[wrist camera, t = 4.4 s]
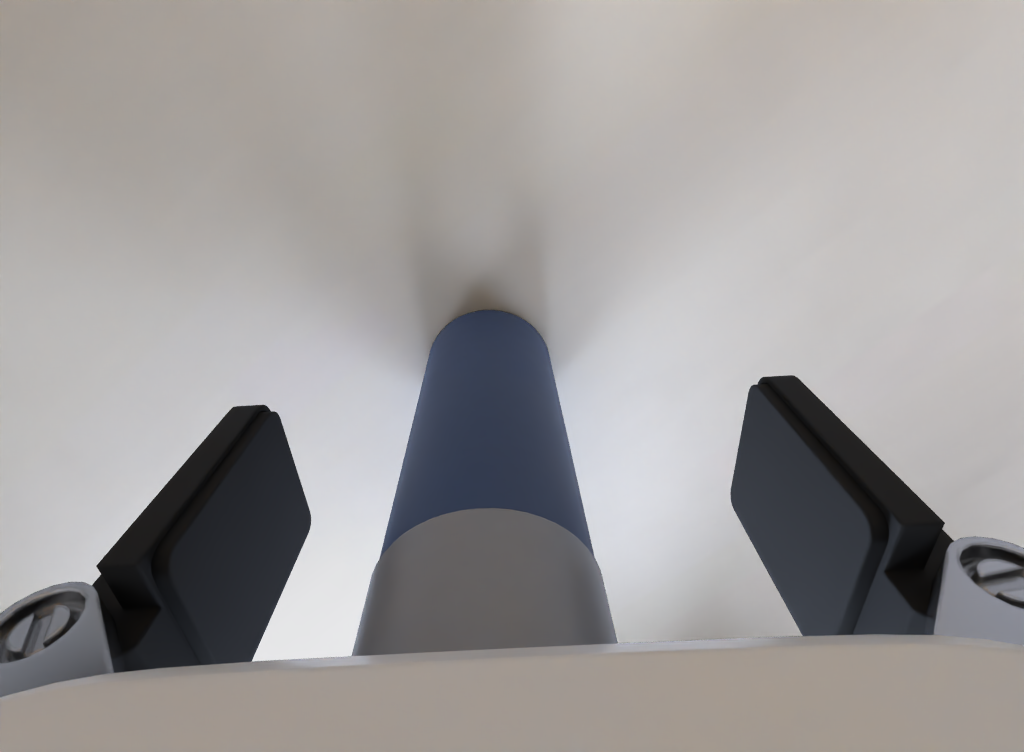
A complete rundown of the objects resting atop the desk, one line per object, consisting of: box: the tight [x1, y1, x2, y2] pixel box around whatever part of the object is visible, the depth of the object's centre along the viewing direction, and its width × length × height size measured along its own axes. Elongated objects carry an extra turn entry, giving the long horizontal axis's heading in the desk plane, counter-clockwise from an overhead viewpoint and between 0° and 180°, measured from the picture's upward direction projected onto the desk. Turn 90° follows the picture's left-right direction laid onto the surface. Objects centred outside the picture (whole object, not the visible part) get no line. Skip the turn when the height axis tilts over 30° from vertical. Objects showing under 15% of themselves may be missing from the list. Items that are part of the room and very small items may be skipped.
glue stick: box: [352, 310, 617, 656], centre depth 10 cm, size 4×4×10 cm
